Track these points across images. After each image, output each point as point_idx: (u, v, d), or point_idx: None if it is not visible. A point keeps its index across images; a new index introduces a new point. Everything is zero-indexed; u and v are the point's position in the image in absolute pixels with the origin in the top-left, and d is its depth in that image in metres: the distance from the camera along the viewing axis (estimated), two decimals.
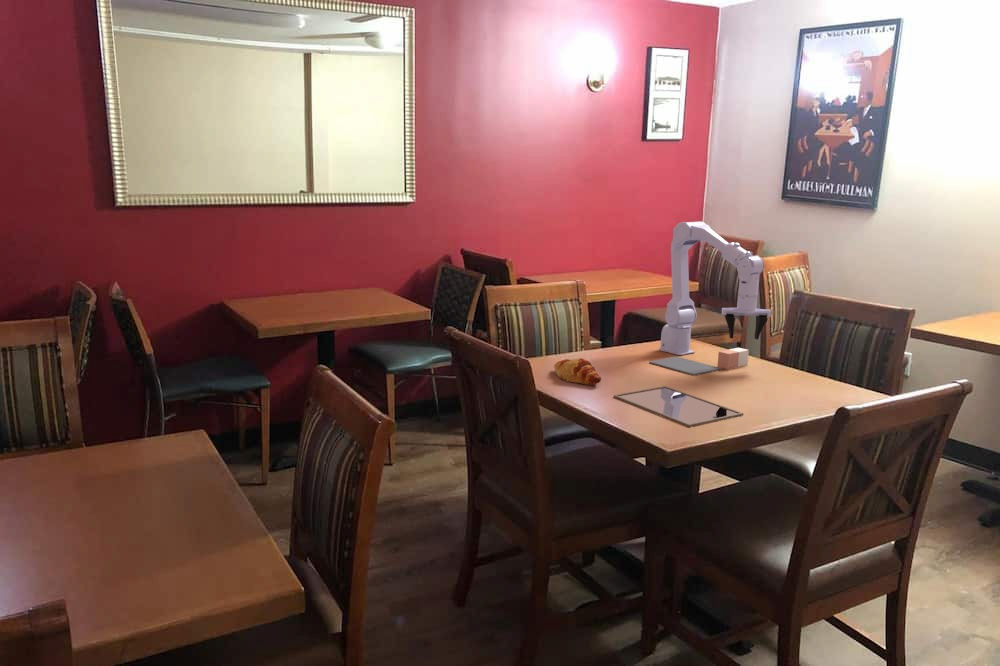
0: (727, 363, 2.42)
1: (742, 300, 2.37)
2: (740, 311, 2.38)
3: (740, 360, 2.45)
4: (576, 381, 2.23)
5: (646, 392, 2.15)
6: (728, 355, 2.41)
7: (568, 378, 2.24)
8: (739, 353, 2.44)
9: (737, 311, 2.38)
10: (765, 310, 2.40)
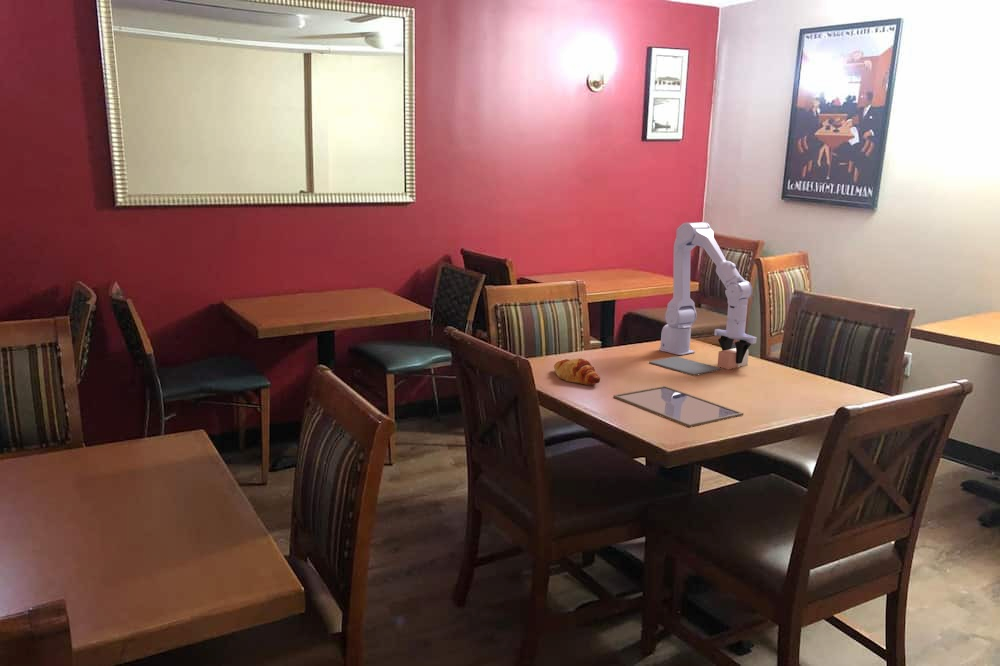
0: (727, 363, 2.42)
1: None
2: (724, 333, 2.45)
3: None
4: (575, 381, 2.23)
5: (646, 392, 2.15)
6: (728, 355, 2.41)
7: (567, 378, 2.24)
8: None
9: (722, 333, 2.46)
10: (750, 337, 2.40)
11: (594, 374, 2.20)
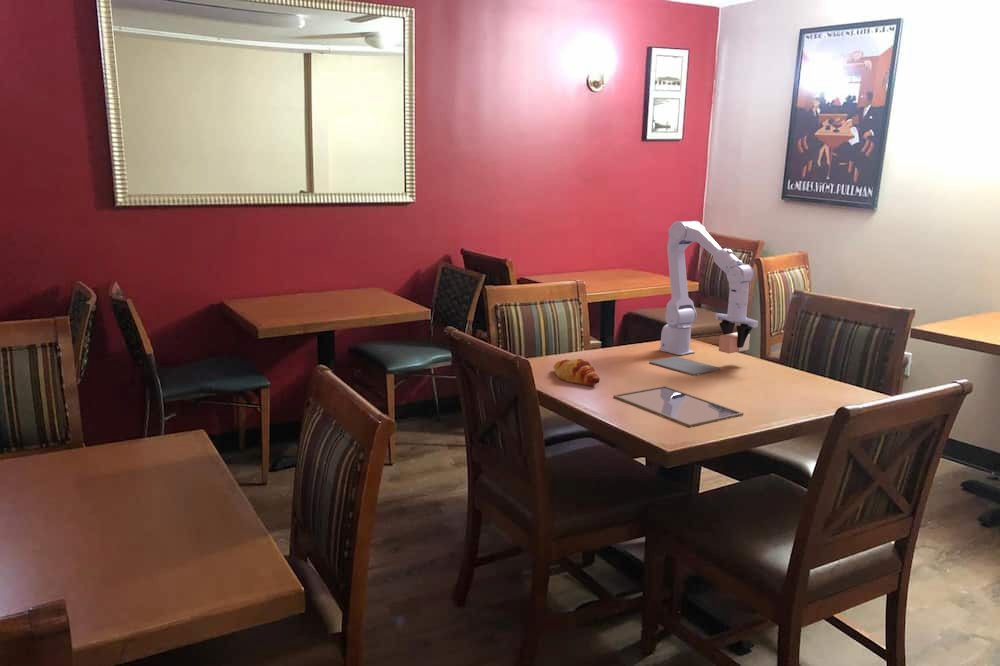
0: (729, 347, 2.41)
1: (728, 307, 2.43)
2: (725, 317, 2.44)
3: None
4: (575, 381, 2.23)
5: (646, 392, 2.15)
6: (729, 339, 2.40)
7: (567, 378, 2.24)
8: None
9: (724, 317, 2.45)
10: (751, 320, 2.39)
11: (593, 374, 2.20)
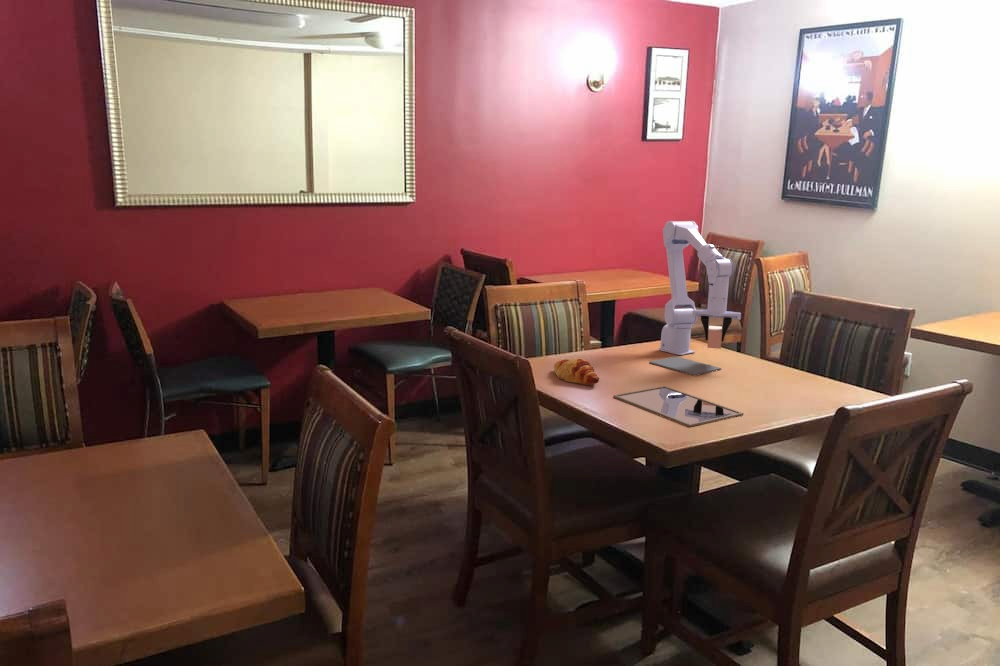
0: (720, 342, 2.39)
1: (711, 302, 2.40)
2: (708, 313, 2.41)
3: None
4: (574, 381, 2.23)
5: (646, 392, 2.14)
6: (721, 334, 2.38)
7: (566, 378, 2.24)
8: None
9: (706, 313, 2.41)
10: (735, 313, 2.41)
11: (593, 374, 2.20)
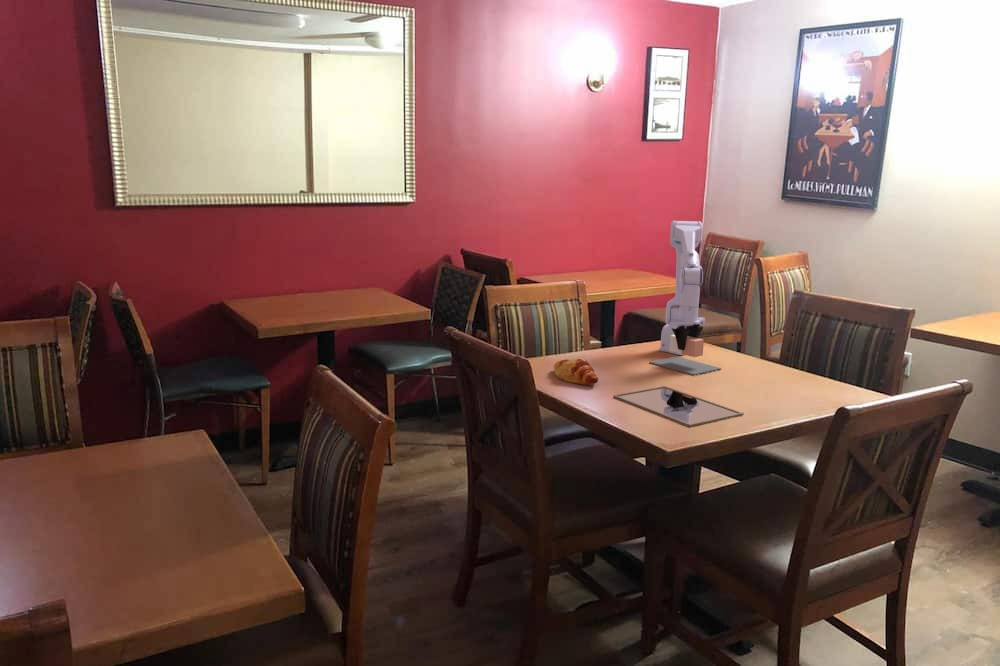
0: (702, 349, 2.41)
1: (690, 312, 2.38)
2: (689, 322, 2.39)
3: None
4: (574, 381, 2.23)
5: (646, 392, 2.14)
6: (702, 341, 2.40)
7: (566, 378, 2.24)
8: None
9: (686, 323, 2.38)
10: (700, 318, 2.45)
11: (592, 374, 2.20)
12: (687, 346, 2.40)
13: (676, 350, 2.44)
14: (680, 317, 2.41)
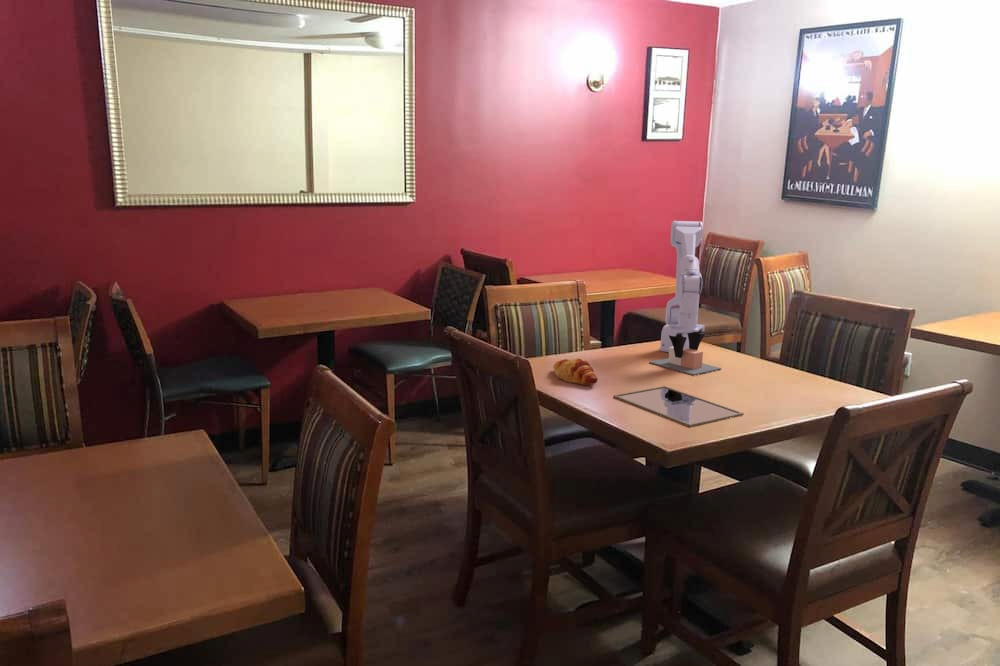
0: (701, 361, 2.42)
1: (690, 319, 2.39)
2: (688, 330, 2.39)
3: None
4: (573, 381, 2.23)
5: (646, 392, 2.14)
6: (702, 353, 2.41)
7: (565, 378, 2.24)
8: None
9: (686, 330, 2.39)
10: (699, 325, 2.45)
11: (591, 374, 2.20)
12: (686, 358, 2.41)
13: (675, 362, 2.45)
14: (679, 324, 2.41)
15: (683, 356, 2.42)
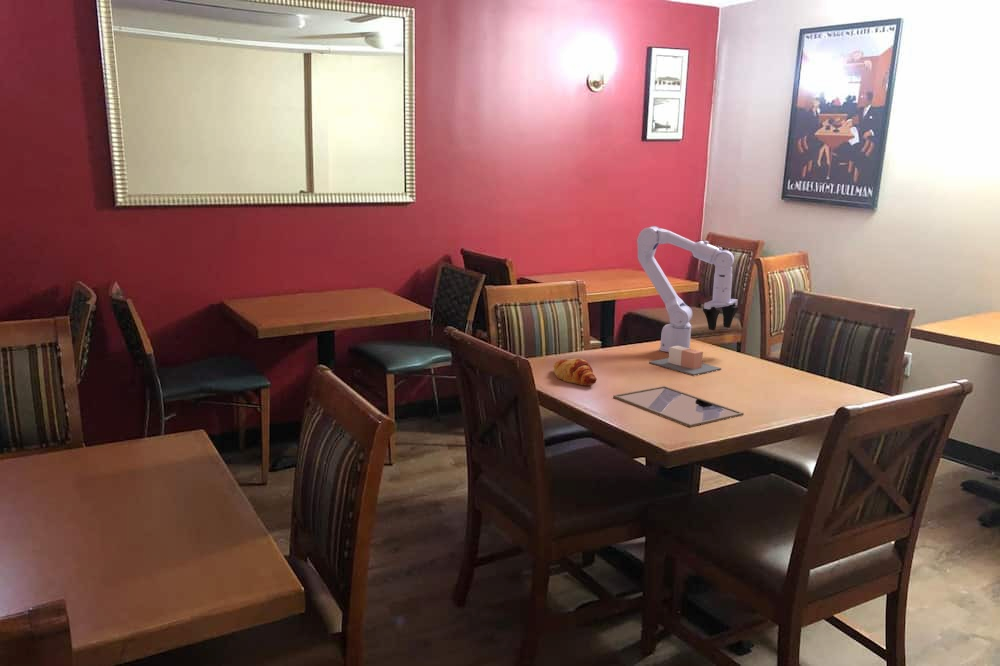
0: (701, 361, 2.42)
1: (723, 293, 2.52)
2: (722, 303, 2.52)
3: None
4: (572, 381, 2.23)
5: (645, 392, 2.14)
6: (702, 353, 2.41)
7: (564, 378, 2.24)
8: None
9: (720, 304, 2.52)
10: (732, 300, 2.58)
11: (590, 375, 2.20)
12: (686, 358, 2.41)
13: (675, 362, 2.45)
14: (714, 298, 2.54)
15: (683, 356, 2.42)
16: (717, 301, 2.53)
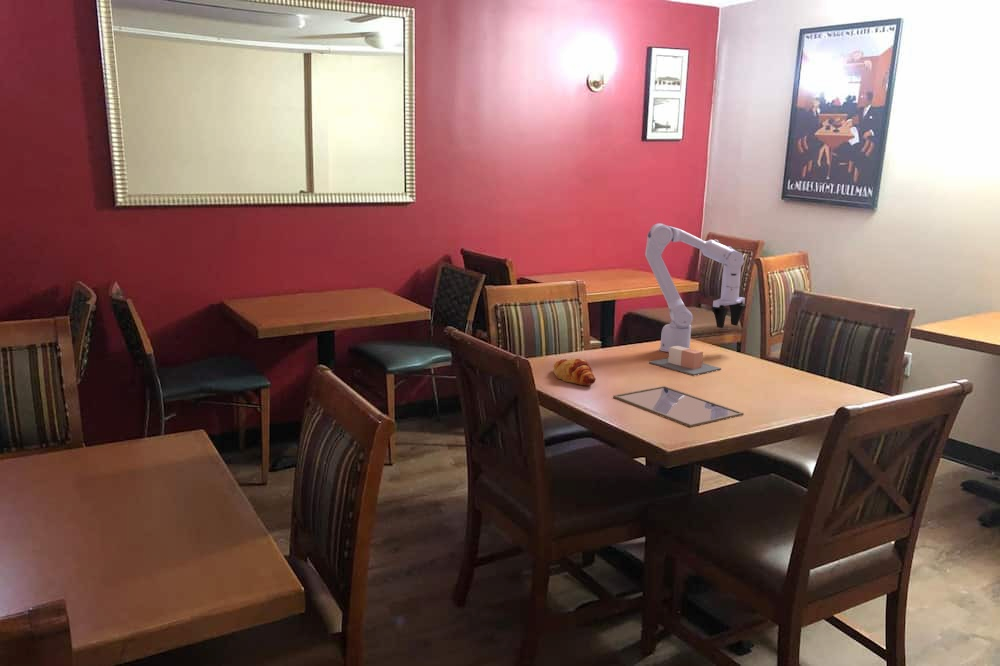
0: (701, 361, 2.42)
1: (732, 291, 2.56)
2: (731, 301, 2.56)
3: None
4: (571, 381, 2.23)
5: (645, 392, 2.14)
6: (702, 353, 2.41)
7: (564, 378, 2.24)
8: None
9: (728, 302, 2.56)
10: (740, 298, 2.62)
11: (590, 374, 2.20)
12: (686, 358, 2.41)
13: (675, 362, 2.45)
14: (722, 296, 2.58)
15: (683, 356, 2.42)
16: (725, 299, 2.57)
